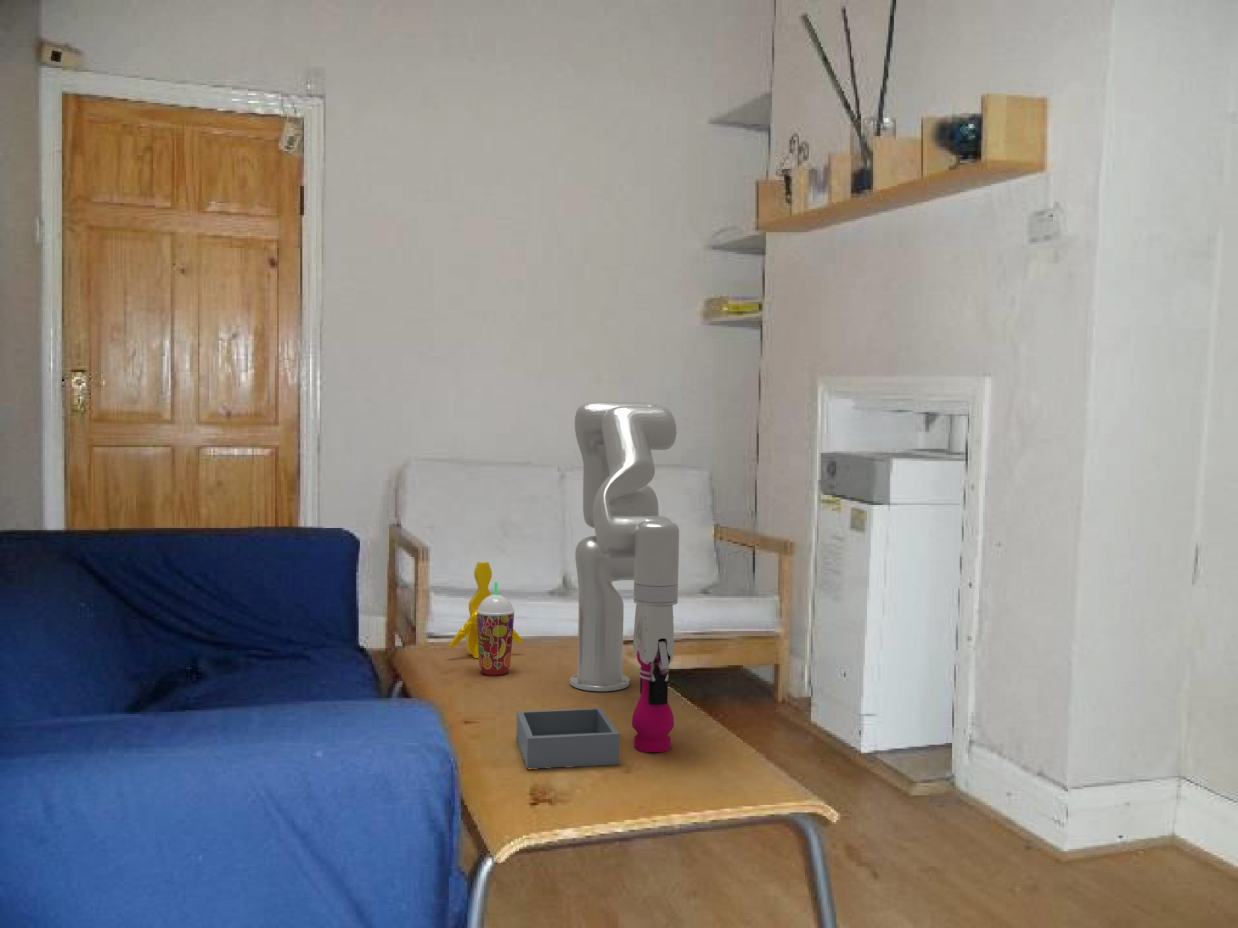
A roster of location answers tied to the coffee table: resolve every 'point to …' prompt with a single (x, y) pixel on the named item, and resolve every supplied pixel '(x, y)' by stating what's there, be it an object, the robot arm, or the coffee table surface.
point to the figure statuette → (470, 627)
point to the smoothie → (495, 633)
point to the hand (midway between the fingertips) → (653, 698)
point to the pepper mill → (651, 717)
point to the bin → (567, 738)
